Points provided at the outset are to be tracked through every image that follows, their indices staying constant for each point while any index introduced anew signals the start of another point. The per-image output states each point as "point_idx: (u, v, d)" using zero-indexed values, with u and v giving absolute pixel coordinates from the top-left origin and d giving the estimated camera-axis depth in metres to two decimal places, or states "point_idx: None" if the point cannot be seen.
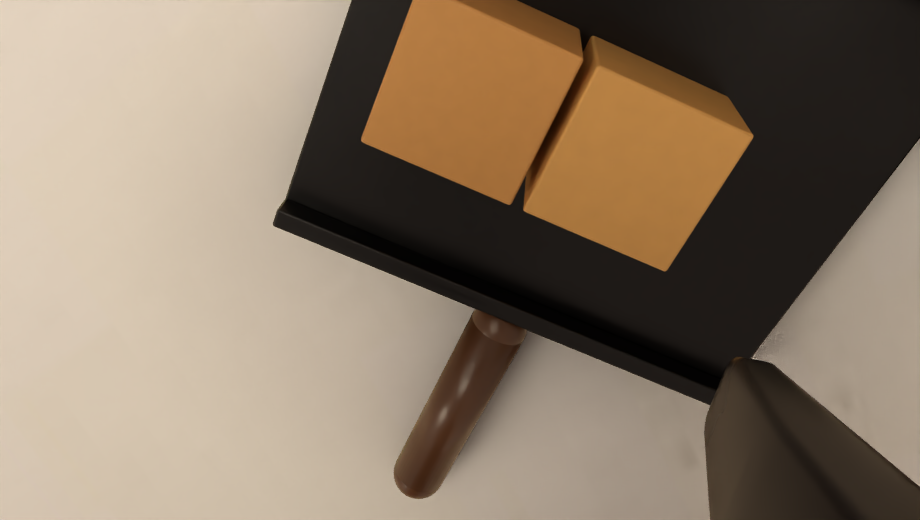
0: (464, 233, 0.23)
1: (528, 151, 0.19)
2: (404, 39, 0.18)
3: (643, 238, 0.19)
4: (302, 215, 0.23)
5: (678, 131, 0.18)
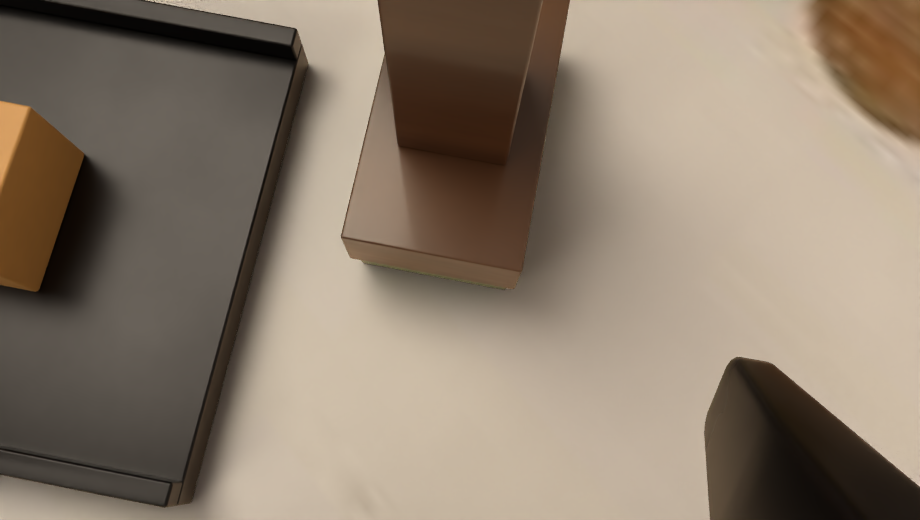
0: None
1: None
2: None
3: None
4: None
5: None
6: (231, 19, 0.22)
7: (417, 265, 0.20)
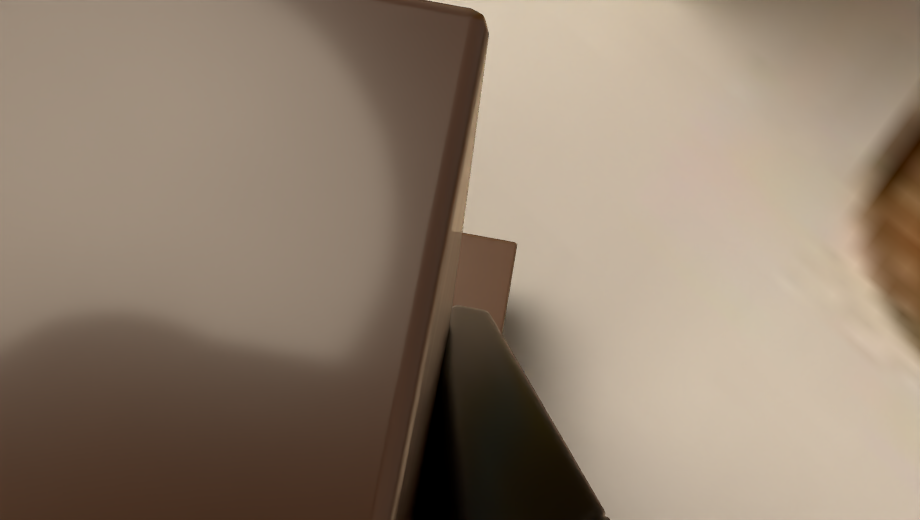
0: None
1: None
2: None
3: None
4: None
5: None
6: None
7: None
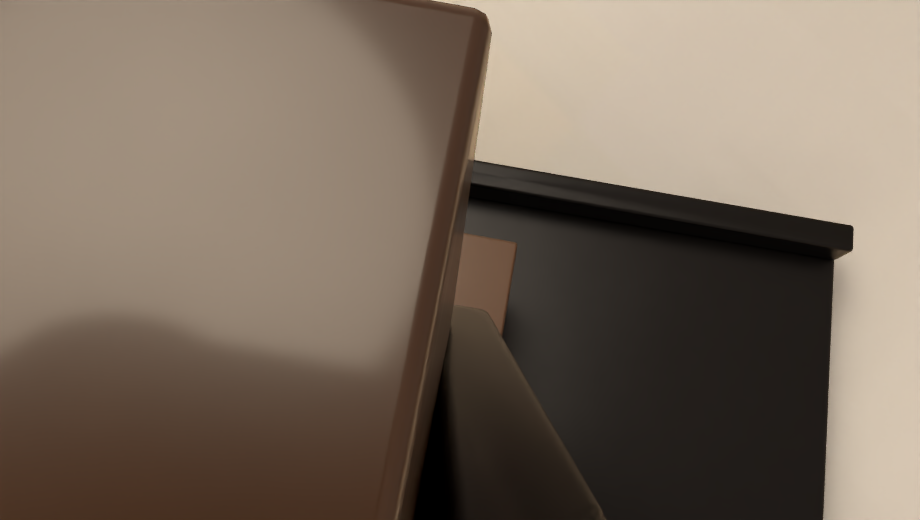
0: None
1: None
2: None
3: None
4: None
5: None
6: (769, 215, 0.17)
7: None
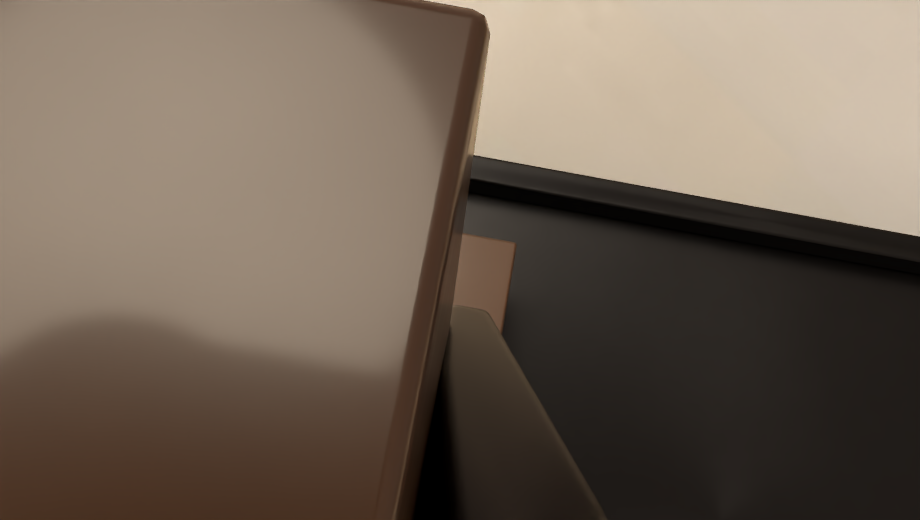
0: None
1: None
2: None
3: None
4: None
5: None
6: None
7: None
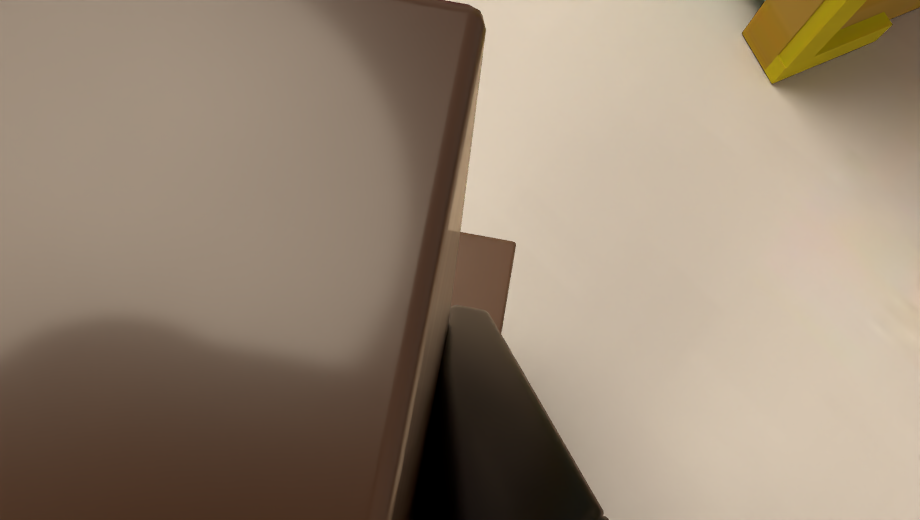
0: None
1: None
2: None
3: None
4: None
5: None
6: None
7: None
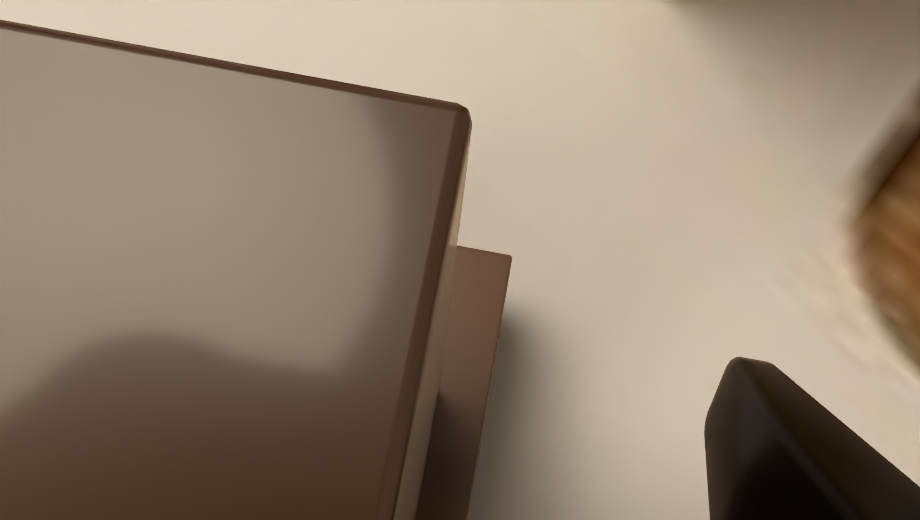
0: None
1: None
2: None
3: None
4: None
5: None
6: None
7: None
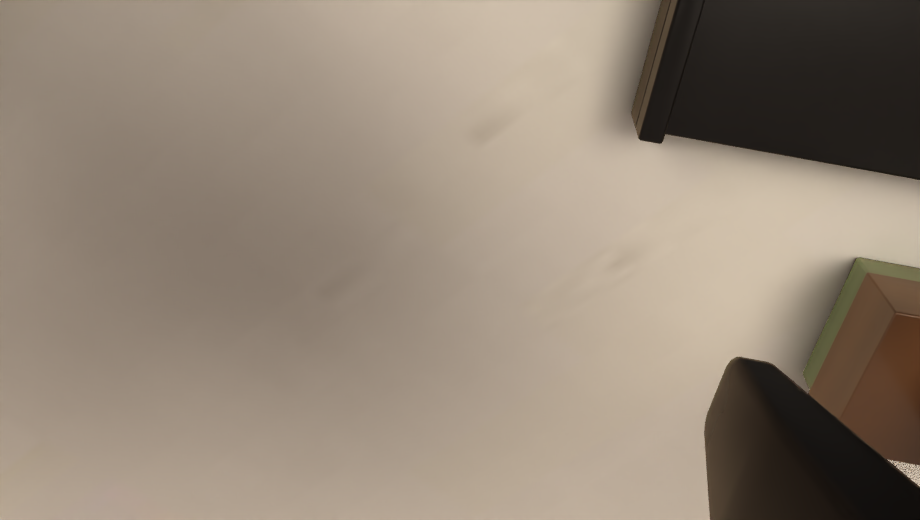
0: None
1: None
2: None
3: None
4: None
5: None
6: None
7: (846, 342, 0.21)
